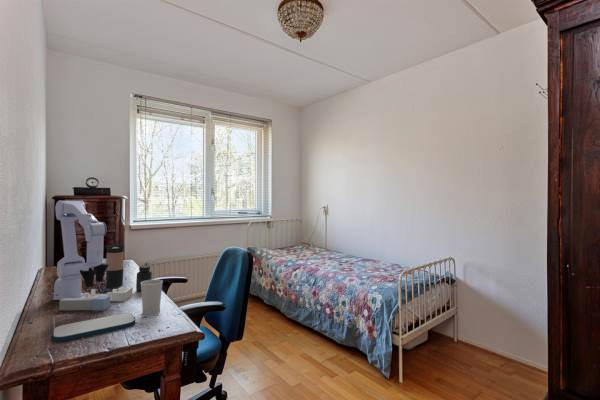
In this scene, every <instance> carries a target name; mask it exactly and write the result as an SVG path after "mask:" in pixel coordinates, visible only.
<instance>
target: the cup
mask: <svg viewBox="0 0 600 400" xmlns="http://www.w3.org/2000/svg"><path fill="white" fill-rule="evenodd" d="M163 281H164V280H162V279H152V280H146V281H143V282H141V292H140V293H141V304H142V307H141V308H142V315H147V316H148V315H151V316H152V315H155V314H158V313H160V311H161V299H162V289H163Z"/></svg>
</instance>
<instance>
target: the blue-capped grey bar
mask: <svg viewBox="0 0 600 400" xmlns="http://www.w3.org/2000/svg"><path fill="white" fill-rule="evenodd" d="M58 304H59V308H58V310H59V311H105V310H107V309H108V308H110V307H111V301H110V296H98V297H96V298H80V297H79V298H64V299H62V300H59V303H58Z"/></svg>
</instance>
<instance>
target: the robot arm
mask: <svg viewBox="0 0 600 400" xmlns="http://www.w3.org/2000/svg"><path fill="white" fill-rule="evenodd" d="M54 209H55V217H56V220H58V221H60V227H61V235H62V245H63V247H62V248H63V255H64V257H62V258H61V259H60V260H59V261H58V262H57V263H56V265H57V266H56V267H57V268H56V275H57V277H58V278H57V279H56V280H55V282H54V284H53V292H54V293H53V298H52V300H53V301H58V300H62V299H64V298H80V297H82V296H84V293H85V292H82V278H83V281H84V283H85V284H84V285H85V287H86V288H92V287H93V286H94V279H95V281H96V282H99V283H102V282H103V280H104V276H105V275H106V274H105V273H106V269H107V267H108V264H106V258H104V240H105V239H104V236H106V234H107V231H108V229H107V224H106V223H105V222H104V221H103V222H101V221H98V219H97V218H96V217H95V216H94V215H93V214H92V213H88V212H87V210H86V203H85V202H84V201H83V199H82V200H61V199H60V200H58V201H56V204H55V208H54ZM77 220H78V224H80V226H81V227H82V228H83V229H84V230H83V233H84V236H85V241H86V262H85V258H84V257H83V256H80V255H79V254H78V253H79V252H78V245H77V235H76V226H75V225H76V224H75V221H77Z"/></svg>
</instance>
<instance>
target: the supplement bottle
mask: <svg viewBox="0 0 600 400" xmlns="http://www.w3.org/2000/svg"><path fill="white" fill-rule="evenodd" d="M138 267H139V269H138V272H137V273H136V280H135V281H136V284H135V290H136V291H135V292H137V293H141V282H143V281H146V280H153V273H152V271H151V266H150V265H140V266H138Z"/></svg>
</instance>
